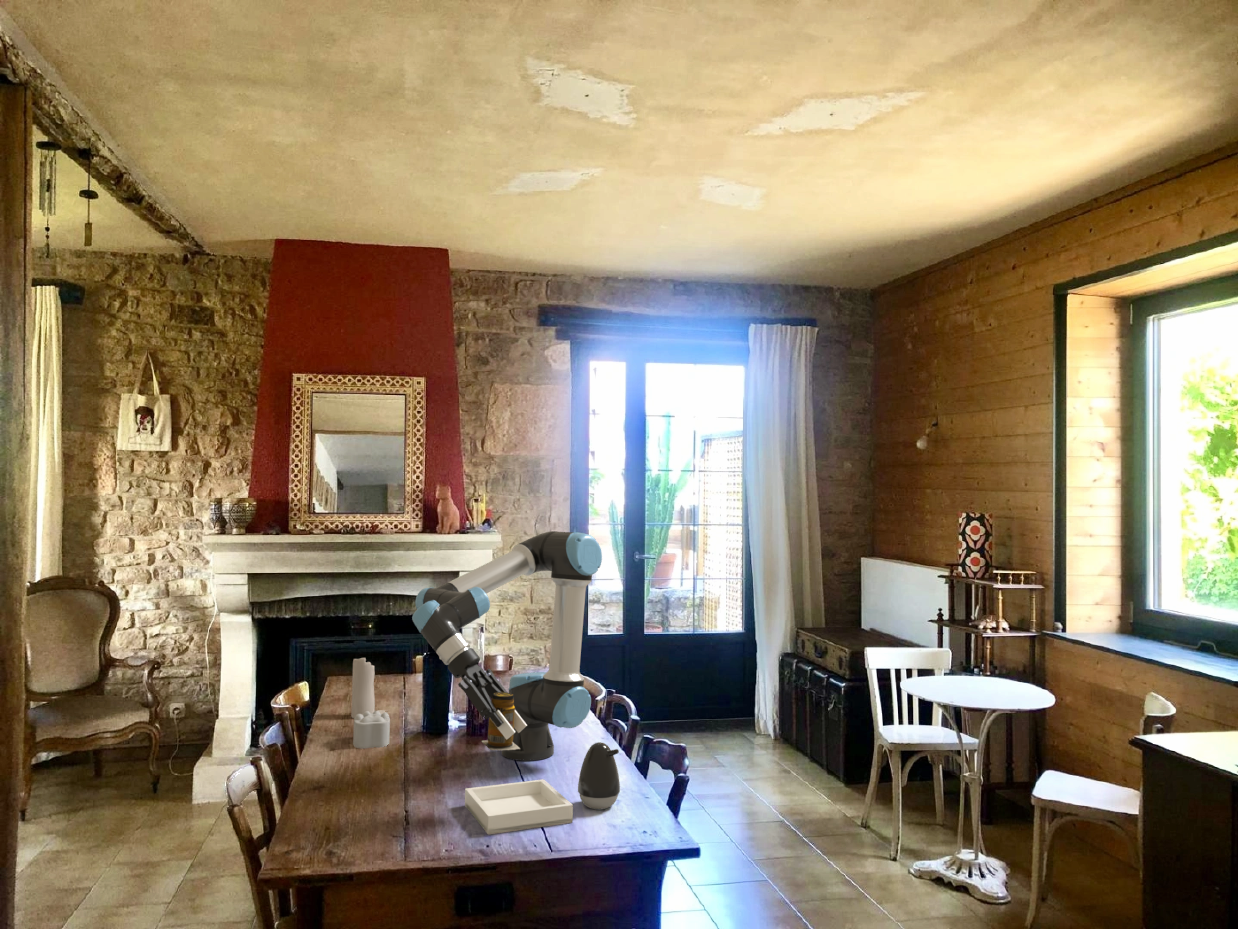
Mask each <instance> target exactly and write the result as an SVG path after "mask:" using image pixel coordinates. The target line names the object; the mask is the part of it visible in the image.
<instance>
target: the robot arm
mask: <svg viewBox="0 0 1238 929" xmlns="http://www.w3.org/2000/svg"><path fill="white" fill-rule="evenodd" d="M602 560H603V553H602V548H601V546H600V544H599V542H598V541H597V540H596V538H595V537H593V536H592V535H591V534H588V533H584V532H579V531H577V532H576V531H575V532H571V531H570V532H569V531H556V530H553V531H546V532H545V531H544V532H542V533H540V534H537V535H535V536H531V537H530V538H528V539H526V540H523V541H522V542H519V543H518V544H516V545H514V546H513V547H512V550H511V551H509V552H507V553H505V554H502V555H501V556H499V557H497V558H494V559H492V560H491V561H489V562H487V563H485V564H483V565H481V566H479V567H476V568H474V569H473V570H471V571H469V572H467V573H464V574H462V575H460V576H459V577H456V578H454V579H453V580H450V581H448V582H446V583H444V584H441V585H439V586H438V587H433V586H431V587H425V588H423V589H421V590H420V591H419V592H418V593H417V595H416V597H415V608H416V610H415V611H414V613H413V614H412V617H411V618H412V619H411V620H412V622H413V624H414V626H415V627H416V628H417V630H418V632H419V633H420V634H421V635H422V636H423V638H424V639H425V640H426V641H427V643H428V644H429V645H430V647H432V649H433V651H434V652H435V653H436V654H437V655H438V657H439V660H441V661H442V662H443V664H444V665H446V666H447V669H448V671H449V672H450V673H451V674H452V676H453V677H454V678H455V679H461V681H460V682H459V683H458V687H459V688H460V689H461V690H462V691H463V692H464V693H465V695H466V696H467V697H468V699H469V701H470V702H471V703H472V704H473V706H474V707H475V709H476V710H477V712H478V713H479V715H480V716H481V718H482V717H483V719H485V720H489V717H490V719H491V720H492V721H493V723H494V724H495V725H496V727H497V728H498V729H499V731H500V732H501V733H502V735H503V736H504V737H505V738H506V740H507V739H508V738H510V737H511V736H512V735H513V734H514V735H513V743H514V744H516V745H517V746H518V747H519V748H520V749H515V750H513V749H512V750H501V755H502V757H504V758H507V759H510V760H514V761H539V760H545V759H548V758H550V757H552V756H553V755H554V753H555V752H554V751H555V745H554V742H553V737H552V734H551V731H550V727H549V725H552V726H555V727H558V728H564V729H575V728H576V727H579V726H580V725H581V724H582V723H583V721H584V720H586V718H587V717H588V715H589V712H590V709H591V706H592V705H591V704H592V697H591V694H590V693H589V691H588V690H587V689H586V688H585V687H584V686H585V678H584V676H583V675H582V674H581V672H580V669H581V668H580V666H581V654H582V653H581V652H582V642H583V628H584V627H583V626H584V617H585V615H584V614H585V601H586V592H587V591H586V589H587V586H588V585H590V584H591V583H592V580H593V579H592V578H593V575H594V574H596V573H597V572H598V571H599V569H600V567H601V565H602ZM538 572H551V575H550V579H551V581H552V582H553V583H554V585H555V588H554V589H555V590H554V602H553V614H552V615H553V616H552V617H553V618H552V626H551V627H552V628H551V629H552V630H551V638H550V639H551V641H550V654H549V663H548V664H549V665H548V670H547V671H538V672H537V671H534V672H525V673H523V672H522V673H517V674H514V675H512V676H511V677H510V679H509V688H507V689H508V691H507V690H506V688H505V687H504V686H503V685H502V684H501V682H500V681H499V680H498V679H497V677H496V676H495V674H494V673H493V671H492V670H491V669H490V668H487V669H486V670H484V668H482V667H481V666H480V665H479V663H480V661H481V657H480V656H479V655H478V653H477V652H476V651H475V650H474V648H472V647H471V644H470V643H469V642H468V640H467V638H466V637H464V635H463V634H462V633H461V631H460V629H462V628H464V627H466V626H467V625H469V624H471V623H472V622H474V621H476V620H478V619H480V618H481V617H482V616H484V615H485V614H486V613H488V612H489V610H490V607H491V602H490V599H489V596H488V593H491V592H492V591H494V590H496V589H499V588H500V587H502V586H504V585H506V584H508V583H509V582H511V581H514V580H515V579H519V577H520V578H521V576H526V577H528V576H532V575H534V574H536V573H538ZM498 692H506V693H511V694H513V695H514V699H513V700H514V703H513V705H514V707H515V716H514V729H513V728H512V726H511V725H510V724H509V722H508V721H507V720H506V718H505V717H504V716H503V715H502V713H501V712H500V711H499V710H497V711H496V709H495V707H494V705H493V703H492V695H493V694H494V693H498ZM495 711H496V712H495ZM551 755H552V756H551Z"/></svg>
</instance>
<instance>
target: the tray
mask: <svg viewBox="0 0 1238 929" xmlns="http://www.w3.org/2000/svg"><path fill="white" fill-rule="evenodd" d="M464 791H465V792H464V806H465V808H466V809H467V810H468V811H469V813H470V814H471V815H472V816H473V818H474V819H475V820H476V821H477V822H478V824H479V825H480V827H481V828H482V829H483V830H484V831H485V833H486V834H487V835H488V836H490V835H496V834H503V833H509V832H517V831H522V830H528V829H537V828H543V827H552V826H557V825H566V824H573V820H574V819H573V818H574V817H573V816H574V815H573V814H574V805H573V804H572V803H571V802H570V801H569V800H567V798H566V797H565V796H563V795H562V794H561V793H560V792H559V791H558V790H557V789H556V788H555V787H553V785H552V784H550V783H549V782H548V781H546V780H545V779H537V780H535V779H534V780H527V781H518V782H510V783H509V782H508V783H502V784H492V785H483V786H477V787H476V786H475V787H469V788H465V790H464Z"/></svg>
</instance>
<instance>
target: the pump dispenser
mask: <svg viewBox="0 0 1238 929" xmlns="http://www.w3.org/2000/svg"><path fill="white" fill-rule="evenodd" d="M619 751H620V750H619V749H617V748H615V749H611V748H610V747H609V745H608V744H606V743H605V742H594V743H593V744H591V746H590V747H589V748H588V750H587V751H586V754H585V756H584V759H583V761H582V764H581V769H580V771H579V777H578V784H577V785H578V786H577V792H578V795H579V797H580V800H581V802H582V804H584V805H585V806H586V807H587V808H589V809H592V810H597V809H601V810H606V809H608V808H610V807H612V806H613V805H614V804H615V802H616V801H617V799H618V797H619V794H620V791H621V784H620V775H619V770H618V765H617V762H616V759H615V755H618V754H619Z"/></svg>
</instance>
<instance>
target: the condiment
mask: <svg viewBox="0 0 1238 929" xmlns="http://www.w3.org/2000/svg"><path fill="white" fill-rule="evenodd" d="M513 699H514V695H513V694H511V693H509V692H508V693H506V692H498V693H494V694H493V695H492V698H491V701H492V703H493V705H494V707H495V709H496V711H497V710H499V711H500V712H501V713H502V715H503V716H504V717H505V718H506V720H507V721H508V722H509V724H510V725H511V726H512V728H513V729H514V716H515V707H514V705H513V703H514V700H513ZM496 711H495V712H496ZM487 729H488V731H487V732H488V733H487V740H481V742H482V744H483V746H486V748H487V749H489V750H490V751H502V750H512V749H513V750H515V749H520V748H519V747H518V746H517V745H516V744H514V743H513V735H514V734H513V735H512V736H511V737H510V738H508V739H507V740H506V738H505V737H504V736H503V735H502V733H501V732H500V731H499V729H498V728H497V727H496V725H495V724H494V723H493V721H492V720H491V719H490V717H489V718H488V728H487Z"/></svg>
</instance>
